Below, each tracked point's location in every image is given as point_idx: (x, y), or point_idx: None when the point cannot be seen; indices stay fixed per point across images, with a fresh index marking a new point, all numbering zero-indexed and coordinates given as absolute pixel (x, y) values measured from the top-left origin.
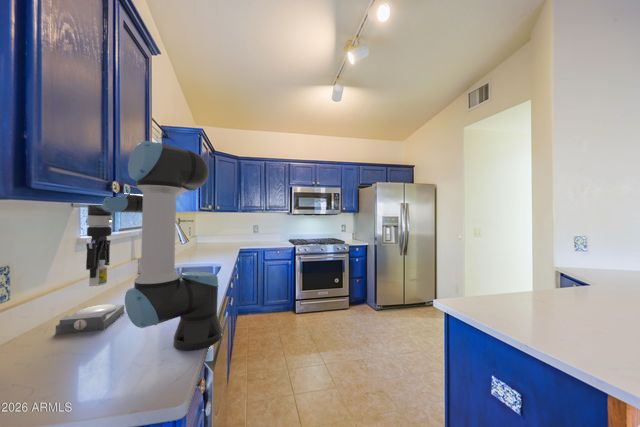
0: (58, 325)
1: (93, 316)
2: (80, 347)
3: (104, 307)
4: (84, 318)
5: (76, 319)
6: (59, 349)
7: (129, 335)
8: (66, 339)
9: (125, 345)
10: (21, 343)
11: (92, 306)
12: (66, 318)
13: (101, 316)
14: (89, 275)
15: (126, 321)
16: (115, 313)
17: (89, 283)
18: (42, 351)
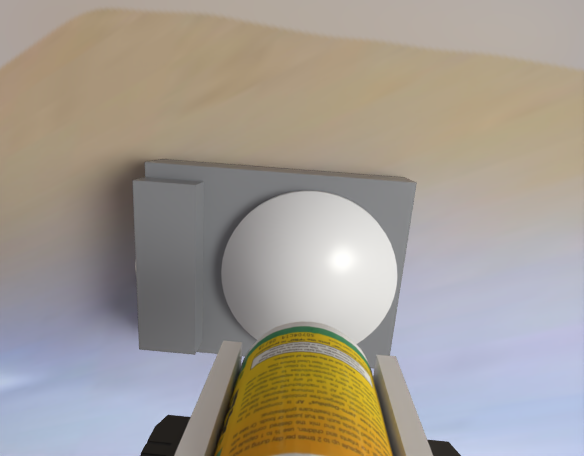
0: (145, 173)
1: (151, 316)
2: (15, 303)
3: (336, 303)
4: (137, 284)
5: (137, 251)
6: (10, 243)
7: (86, 422)
8: (95, 228)
9: (8, 427)
10: (91, 67)
11: (381, 235)
12: (151, 203)
13: (146, 349)
14: (269, 387)
15: None
16: None
17: (216, 358)
18: (3, 193)
